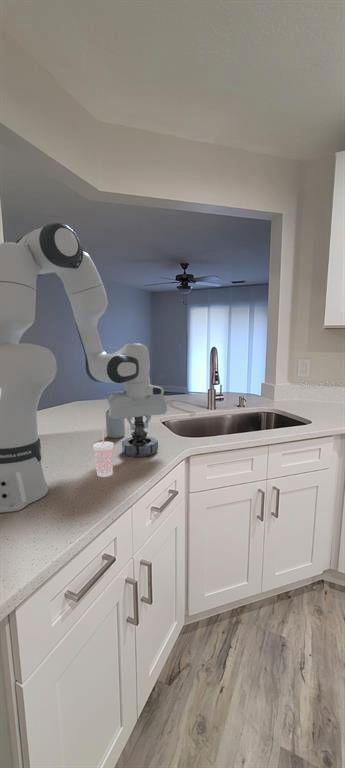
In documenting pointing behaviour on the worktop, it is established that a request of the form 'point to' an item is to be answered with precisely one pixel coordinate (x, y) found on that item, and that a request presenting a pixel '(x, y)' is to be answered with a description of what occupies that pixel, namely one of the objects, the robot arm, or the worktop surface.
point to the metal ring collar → (140, 447)
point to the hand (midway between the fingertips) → (139, 428)
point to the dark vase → (139, 432)
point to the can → (114, 426)
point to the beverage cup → (104, 457)
